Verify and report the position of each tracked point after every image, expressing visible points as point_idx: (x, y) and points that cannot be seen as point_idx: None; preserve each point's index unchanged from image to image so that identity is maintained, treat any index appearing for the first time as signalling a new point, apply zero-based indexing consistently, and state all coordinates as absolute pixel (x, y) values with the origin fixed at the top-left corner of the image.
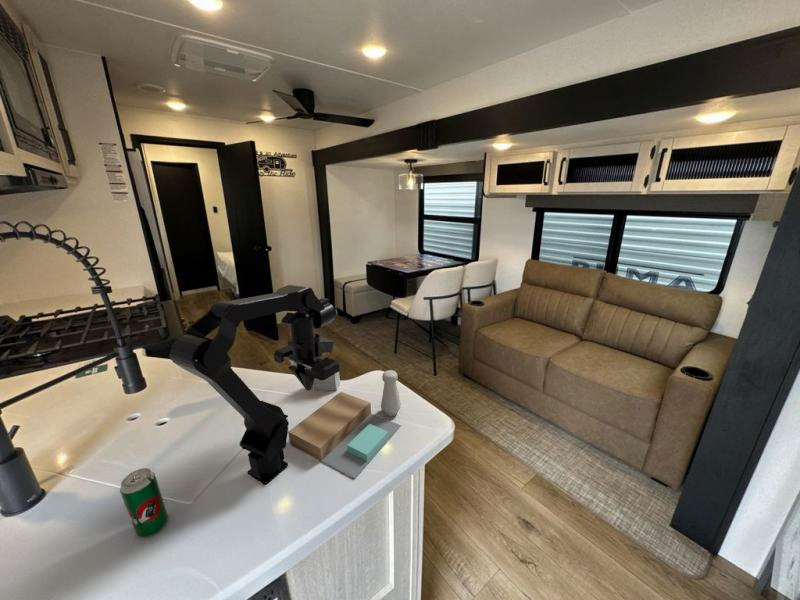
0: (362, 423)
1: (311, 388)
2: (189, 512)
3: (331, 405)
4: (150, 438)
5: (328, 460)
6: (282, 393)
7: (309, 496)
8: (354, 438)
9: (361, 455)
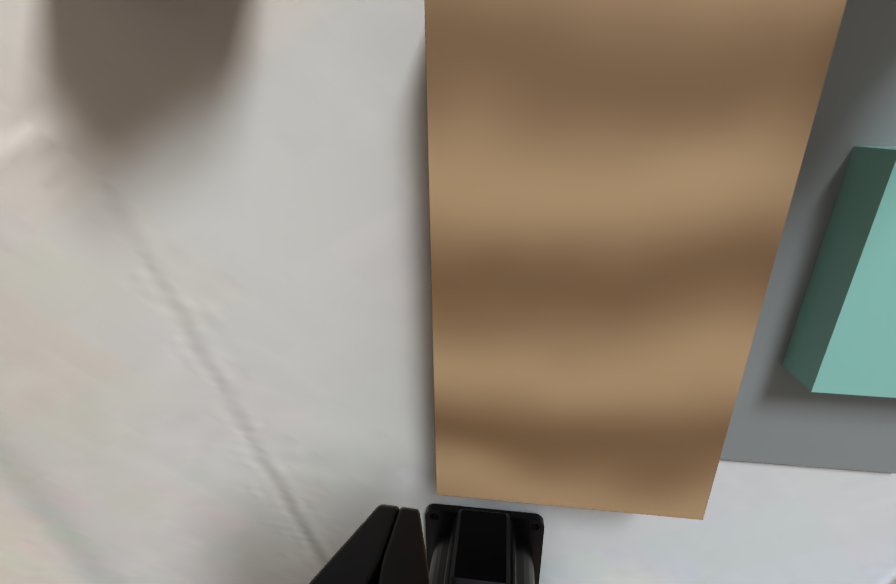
0: None
1: (420, 524)
2: None
3: (496, 182)
4: (5, 580)
5: None
6: (10, 147)
7: (727, 574)
8: (834, 330)
9: None
